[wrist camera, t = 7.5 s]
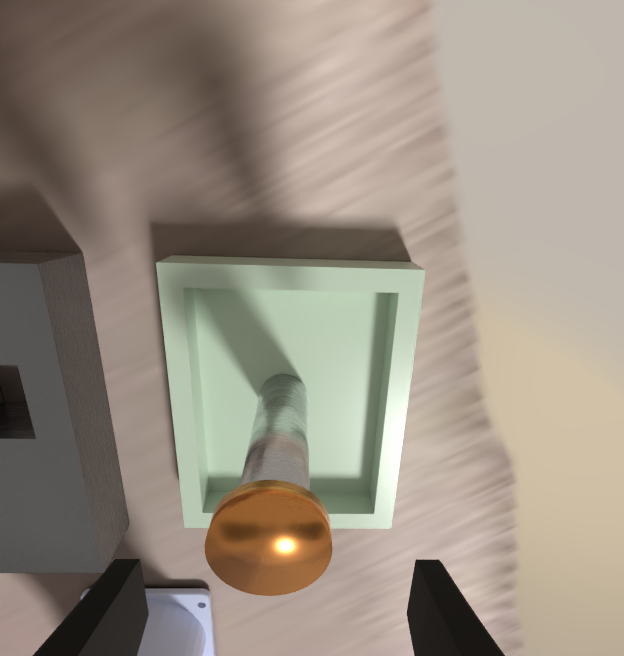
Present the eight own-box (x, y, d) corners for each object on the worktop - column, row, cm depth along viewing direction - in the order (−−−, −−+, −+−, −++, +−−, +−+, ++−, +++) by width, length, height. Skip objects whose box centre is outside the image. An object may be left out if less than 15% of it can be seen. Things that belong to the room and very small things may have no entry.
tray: (383, 499, 22) (390, 528, 20) (195, 498, 22) (184, 527, 20) (412, 261, 17) (425, 269, 15) (172, 255, 17) (155, 262, 15)
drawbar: (129, 524, 22) (104, 573, 19) (8, 524, 22) (-36, 572, 19) (82, 252, 17) (37, 264, 14) (-78, 248, 17) (-157, 259, 14)
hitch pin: (318, 425, 19) (329, 595, 11) (249, 425, 19) (209, 596, 11) (320, 363, 18) (334, 500, 10) (246, 362, 18) (199, 501, 10)
